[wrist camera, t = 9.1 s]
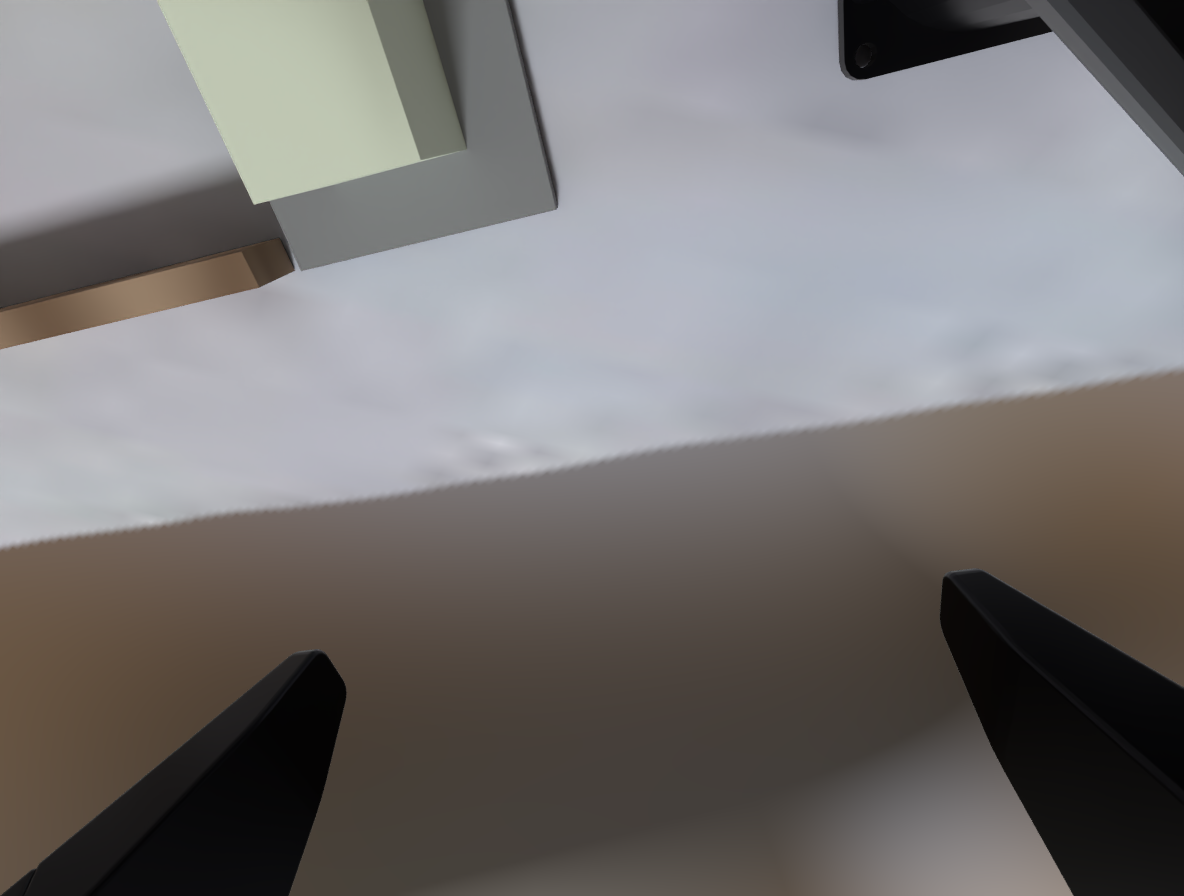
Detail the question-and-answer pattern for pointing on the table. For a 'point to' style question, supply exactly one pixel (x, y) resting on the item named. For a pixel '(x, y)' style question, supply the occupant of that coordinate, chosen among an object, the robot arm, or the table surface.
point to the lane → (144, 293)
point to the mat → (447, 183)
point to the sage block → (317, 87)
